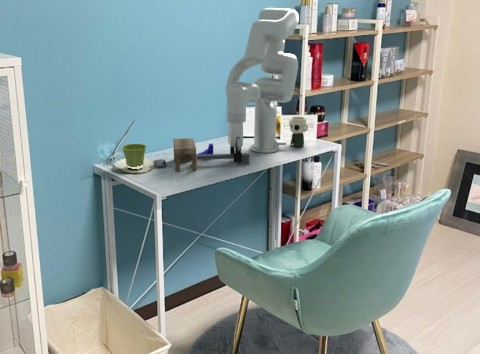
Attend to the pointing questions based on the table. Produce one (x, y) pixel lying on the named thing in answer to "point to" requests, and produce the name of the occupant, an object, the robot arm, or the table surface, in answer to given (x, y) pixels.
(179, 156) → the brown block with legs
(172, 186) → the table surface
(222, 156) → the scraper
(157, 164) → the steel token
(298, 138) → the character mug
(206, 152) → the blue shoe
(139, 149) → the plant pot
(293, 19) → the robot arm
